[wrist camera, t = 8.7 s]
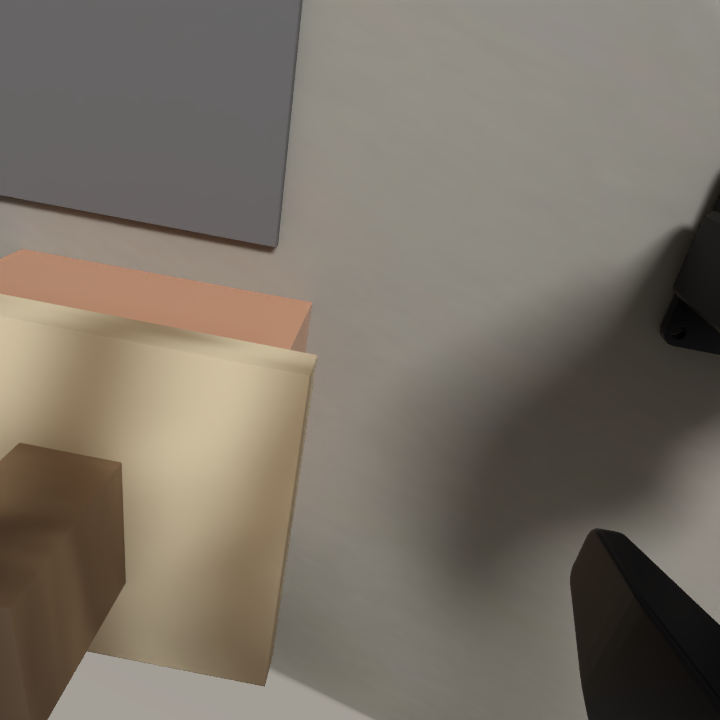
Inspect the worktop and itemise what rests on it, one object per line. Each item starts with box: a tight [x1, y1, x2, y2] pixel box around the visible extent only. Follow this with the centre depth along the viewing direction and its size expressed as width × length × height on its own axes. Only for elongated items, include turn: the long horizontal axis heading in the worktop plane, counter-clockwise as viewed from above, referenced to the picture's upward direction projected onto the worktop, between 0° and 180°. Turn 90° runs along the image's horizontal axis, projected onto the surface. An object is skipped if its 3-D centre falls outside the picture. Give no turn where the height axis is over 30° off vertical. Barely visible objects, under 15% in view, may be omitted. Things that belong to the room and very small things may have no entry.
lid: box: [0, 294, 317, 720], centre depth 16 cm, size 13×13×6 cm
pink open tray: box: [0, 249, 312, 353], centre depth 21 cm, size 11×11×6 cm
